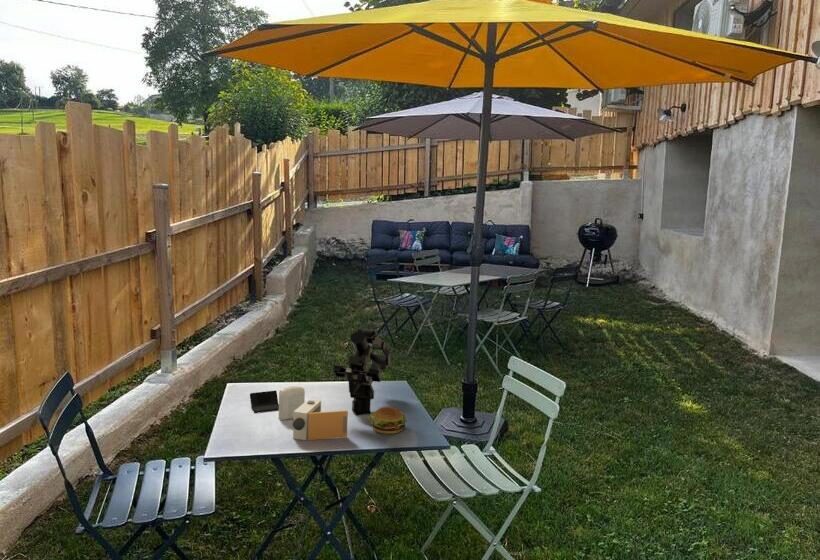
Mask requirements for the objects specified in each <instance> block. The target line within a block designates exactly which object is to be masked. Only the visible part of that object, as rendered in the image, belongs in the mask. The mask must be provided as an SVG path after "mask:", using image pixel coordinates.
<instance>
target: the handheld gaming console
mask: <svg viewBox="0 0 820 560" xmlns="http://www.w3.org/2000/svg"><path fill="white" fill-rule="evenodd" d="M249 399H250V400H249V401H250V406H251V407H250V408H251V410H252V412H253V411H254V412H253V413H254V414H258V412H260V413H266V412H268V411H269V412H276V411H279V397H278V393H277V390H269V391H268V390H267V391H260V392H250V393H249Z"/></svg>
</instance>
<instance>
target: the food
mask: <svg viewBox="0 0 820 560" xmlns="http://www.w3.org/2000/svg"><path fill="white" fill-rule="evenodd" d="M371 412H372V413H371V414H369V415H368V417H367V419H368V420H369V421H371V422H370V423H371V425H372V429H373V431H375V432H377V433H379V434H384V435H393V434H398V433H400V431H401V432H402V431H403V430H404V428H405V426H406V422H407V418H406V416H405V414H404V413H403V411H401V410H400V409H399V408H396V407H394V406H393V407H392V406H383V407H379V408H377V409H376V410H375V411H371Z"/></svg>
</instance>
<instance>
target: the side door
mask: <svg viewBox="0 0 820 560" xmlns="http://www.w3.org/2000/svg"><path fill="white" fill-rule="evenodd" d="M348 415H349V411H348V410H346V409H345V410H334V411H333V410H331V411H321V412H315V413H307V440H306V441H313V440H314V441H315V440H326V439H338V438H339V439H340V438H341V439H342V438H348V418H349V417H348Z"/></svg>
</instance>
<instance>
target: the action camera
mask: <svg viewBox="0 0 820 560" xmlns="http://www.w3.org/2000/svg"><path fill="white" fill-rule="evenodd" d="M315 412H322V400H319V399H312V398H308V399H306V401H304V403H303V404H302V405H301V406H300V407H298V408H297V409H296V410H295V411H294V415H293V418H292V419H293V420H292V426H293V428H292V431H293V432H292V438H293V439H297V440H303V441H308V440H307V413H315Z"/></svg>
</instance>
